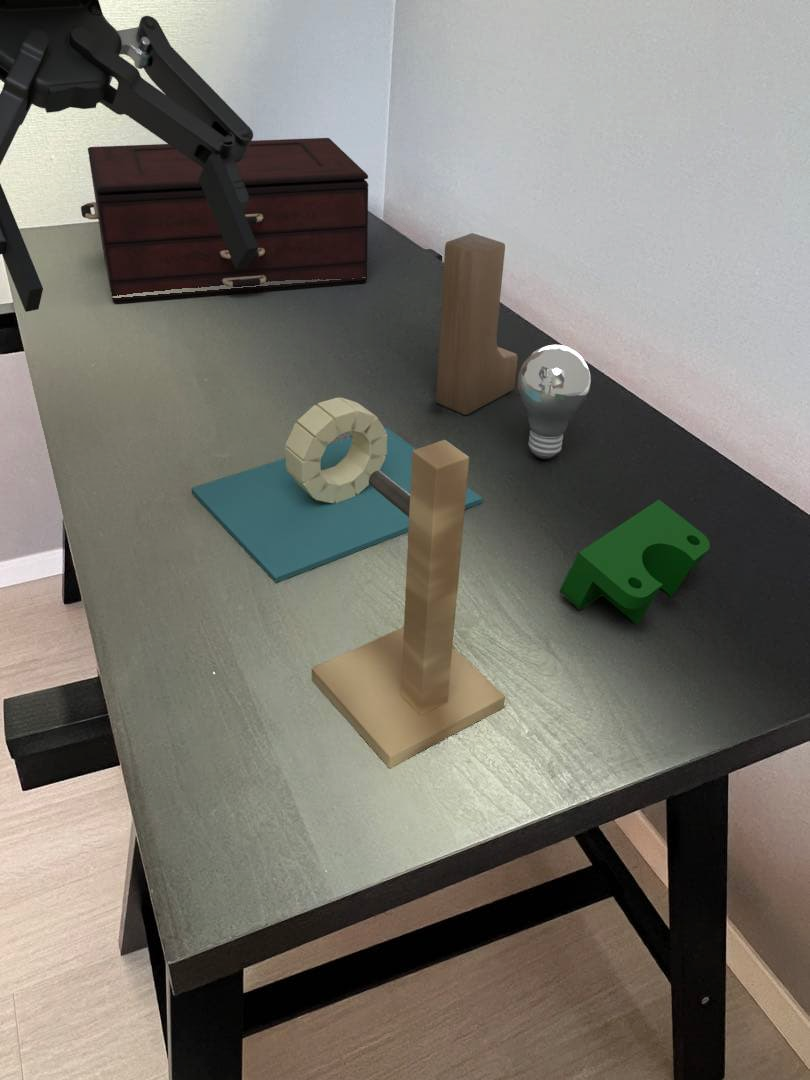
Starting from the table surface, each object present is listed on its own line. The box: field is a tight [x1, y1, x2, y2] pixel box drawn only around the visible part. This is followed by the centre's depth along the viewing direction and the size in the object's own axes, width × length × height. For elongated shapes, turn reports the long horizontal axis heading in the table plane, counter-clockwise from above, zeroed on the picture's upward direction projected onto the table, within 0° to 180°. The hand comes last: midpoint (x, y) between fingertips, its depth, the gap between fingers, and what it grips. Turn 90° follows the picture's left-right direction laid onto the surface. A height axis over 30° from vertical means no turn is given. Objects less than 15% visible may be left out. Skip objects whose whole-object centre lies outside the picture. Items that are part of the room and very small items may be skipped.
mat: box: [190, 426, 483, 584], centre depth 88 cm, size 22×16×1 cm
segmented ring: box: [284, 396, 387, 504], centre depth 85 cm, size 9×3×9 cm, turn 125°
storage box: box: [80, 137, 369, 304], centre depth 130 cm, size 39×23×15 cm, turn 108°
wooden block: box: [435, 232, 519, 416], centre depth 101 cm, size 9×4×18 cm, turn 138°
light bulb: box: [517, 344, 592, 461], centre depth 92 cm, size 7×7×12 cm
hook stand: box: [311, 439, 506, 769], centre depth 62 cm, size 10×10×21 cm
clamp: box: [559, 499, 711, 625], centre depth 77 cm, size 12×6×9 cm, turn 129°
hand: (147, 279), depth 57 cm, fingers open, 13 cm apart
